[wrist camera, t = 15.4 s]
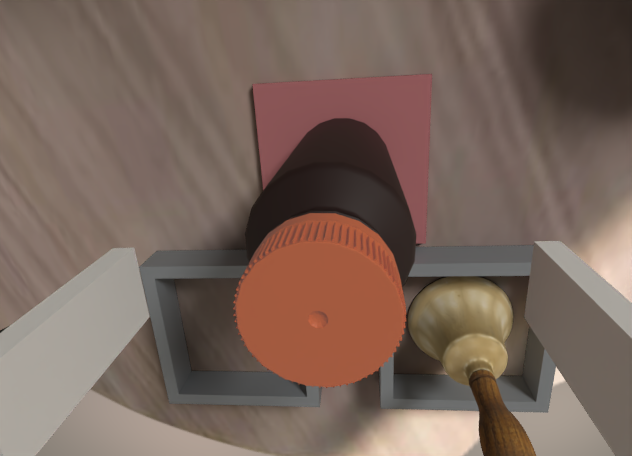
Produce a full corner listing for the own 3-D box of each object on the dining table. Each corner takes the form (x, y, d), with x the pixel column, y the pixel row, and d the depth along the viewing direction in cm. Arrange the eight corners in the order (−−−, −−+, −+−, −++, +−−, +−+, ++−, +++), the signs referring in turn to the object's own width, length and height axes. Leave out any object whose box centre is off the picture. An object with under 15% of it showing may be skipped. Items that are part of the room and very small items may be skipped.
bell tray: (378, 247, 33) (380, 264, 30) (554, 245, 32) (573, 262, 29) (379, 383, 38) (380, 408, 35) (533, 385, 36) (547, 412, 33)
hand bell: (438, 375, 37) (492, 584, 22) (388, 304, 35) (411, 481, 20) (530, 334, 35) (659, 536, 20) (483, 255, 33) (588, 414, 18)
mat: (254, 84, 30) (252, 84, 29) (430, 73, 28) (432, 74, 28) (270, 243, 34) (268, 245, 33) (424, 240, 33) (425, 243, 32)
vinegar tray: (156, 250, 35) (139, 266, 32) (314, 248, 34) (310, 265, 31) (182, 379, 39) (169, 403, 37) (322, 382, 38) (319, 406, 35)
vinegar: (342, 95, 29) (314, 148, 10) (409, 165, 30) (495, 325, 12) (275, 165, 31) (153, 314, 12) (341, 228, 32) (320, 448, 14)
